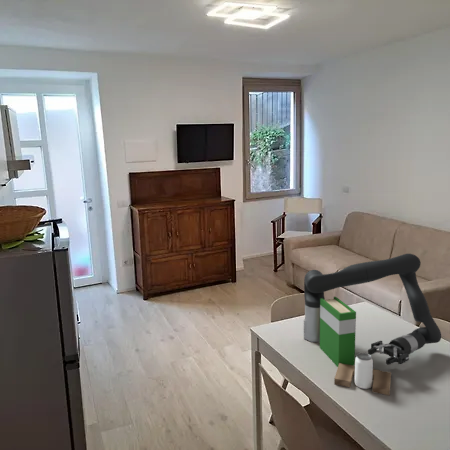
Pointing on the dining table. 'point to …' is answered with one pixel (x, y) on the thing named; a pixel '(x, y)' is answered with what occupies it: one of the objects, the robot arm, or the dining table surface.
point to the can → (363, 370)
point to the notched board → (379, 378)
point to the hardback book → (337, 331)
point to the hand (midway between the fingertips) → (377, 357)
